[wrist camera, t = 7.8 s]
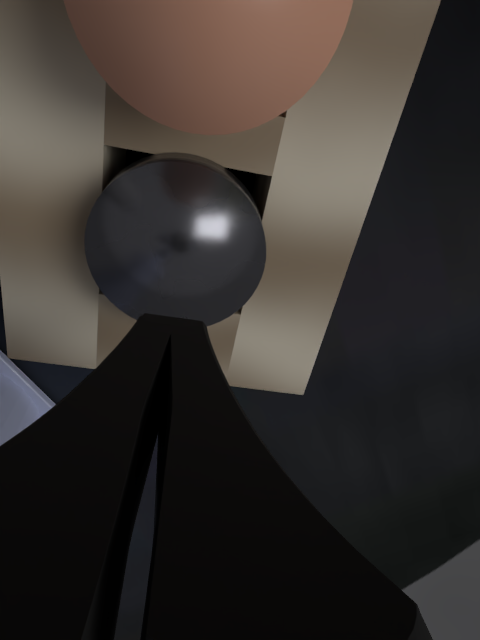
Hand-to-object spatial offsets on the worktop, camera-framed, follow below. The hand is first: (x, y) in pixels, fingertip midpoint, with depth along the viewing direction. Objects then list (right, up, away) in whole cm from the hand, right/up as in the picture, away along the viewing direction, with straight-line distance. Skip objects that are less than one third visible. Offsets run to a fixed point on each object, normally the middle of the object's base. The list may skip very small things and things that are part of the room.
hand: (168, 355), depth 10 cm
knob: (0, +5, +7) cm, 9 cm away
